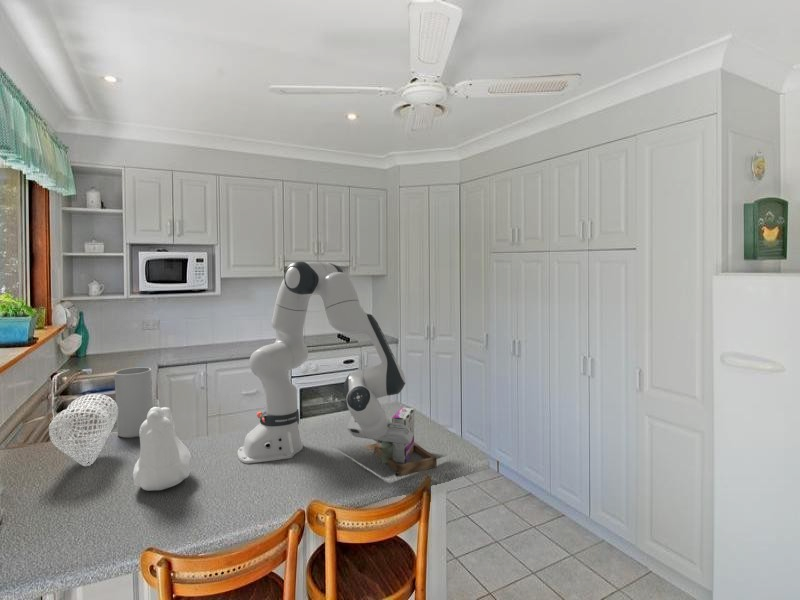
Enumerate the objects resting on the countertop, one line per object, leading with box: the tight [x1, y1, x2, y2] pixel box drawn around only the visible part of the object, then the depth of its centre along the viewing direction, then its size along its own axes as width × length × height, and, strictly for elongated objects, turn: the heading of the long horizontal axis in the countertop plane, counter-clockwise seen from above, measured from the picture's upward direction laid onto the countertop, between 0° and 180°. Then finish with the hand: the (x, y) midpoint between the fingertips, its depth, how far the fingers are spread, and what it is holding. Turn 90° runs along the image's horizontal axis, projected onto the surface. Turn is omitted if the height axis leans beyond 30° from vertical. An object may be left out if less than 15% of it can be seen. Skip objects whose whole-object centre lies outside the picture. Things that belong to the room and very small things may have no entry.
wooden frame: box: [373, 441, 438, 477], centre depth 153 cm, size 16×17×13 cm
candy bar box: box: [391, 406, 415, 464], centre depth 155 cm, size 11×5×16 cm, turn 163°
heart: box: [48, 393, 118, 467], centre depth 151 cm, size 28×16×22 cm, turn 20°
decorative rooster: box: [132, 406, 192, 491], centre depth 141 cm, size 25×16×25 cm, turn 5°
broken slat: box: [364, 442, 381, 451], centre depth 165 cm, size 15×4×2 cm, turn 118°
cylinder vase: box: [113, 366, 154, 439], centre depth 181 cm, size 12×12×25 cm
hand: (387, 442), depth 150 cm, fingers closed on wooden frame, 4 cm apart
